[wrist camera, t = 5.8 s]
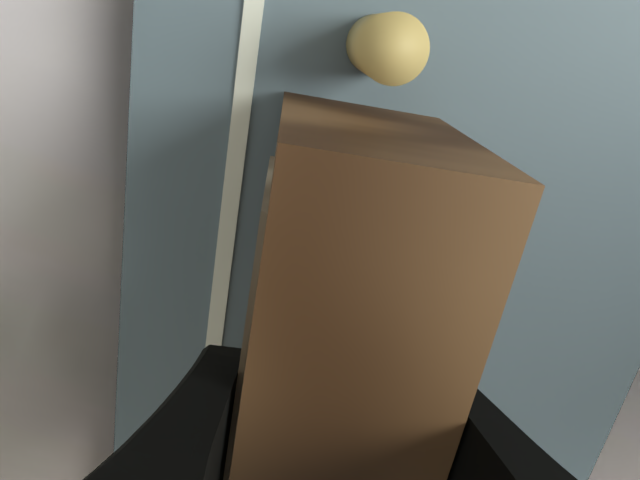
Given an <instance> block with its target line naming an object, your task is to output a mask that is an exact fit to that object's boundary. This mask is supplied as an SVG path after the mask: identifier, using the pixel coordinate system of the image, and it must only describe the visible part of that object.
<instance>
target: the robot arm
mask: <svg viewBox="0 0 640 480" xmlns="http://www.w3.org/2000/svg"><path fill="white" fill-rule="evenodd" d="M241 349H242V348H235V347H226V346H218V345H208V346H207V347H205V348H204V349H203V350H202V352H201V353H200V355H199V357H198V358H197V360H196V361H195V363H194V364H193V366H192V367H191V368H190V370H189V371H188V373H187V374H186V375H185V376H184V378H183V379H182V380H181V382H180V383H179V384H178V385H177V387H176V388H175V389H174V390H173V391H172V392H171V394H170V395H169V396H168V397H167V398H166V399H165V400H164V402H163V403H162V404H161V405H160V406H159V407H158V409H157V410H156V411H155V412H154V413H153V414H152V415H151V416H150V417H149V418H148V419H147V420H146V421H145V422H144V423H143V424H142V425H141V426H140V427H139V428H138V429H137V430H136V431H135V432H134V433H133V434H132V435H131V436H130V438H129V439H128V440H127V441H126V442H125V443H124V444H122V445H121V446H120V447H119V448H118V449H117V450H116V451H115V452H114V453H113V454H112V455H111V456H110V457H108V458H107V459H106V460H105V461H104V462H103V463H102V464H101V465H99V466H98V467H97V468H96V469H95V470H94V471H92V472H91V473H90V474H89V475H88V476H87V477H85V478H84V479H83V480H223V477H224V469H225V462H226V455H227V448H228V441H229V434H230V427H231V420H232V413H233V405H234V398H235V391H236V384H237V377H238V370H239V363H240V356H241ZM447 480H578V479H576V478H575V477H574V476H573V475H572V474H570V473H569V472H568V471H567V470H566V469H564V468H563V467H562V466H561V465H560V464H559V463H558V462H556V461H555V460H554V459H553V458H552V457H551V456H550V455H548V454H547V453H546V452H545V451H544V450H543V449H542V448H541V447H540V446H538V445H537V444H536V443H535V442H534V441H533V440H532V439H531V438H530V437H529V436H528V435H526V434H525V433H524V432H523V431H522V430H521V429H520V428H519V427H518V426H517V425H516V424H515V423H514V422H512V421H511V420H510V419H509V418H508V417H507V416H506V415H505V414H504V413H503V412H502V411H501V410H500V409H499V408H498V407H497V406H496V405H495V404H493V403H492V402H491V401H490V400H489V399H488V398H487V397H486V396H485V395H484V394H483V393H482V392H481V391H480V390H479V389H477V391H476V394H475V397H474V400H473V403H472V406H471V409H470V412H469V415H468V418H467V421H466V424H465V427H464V430H463V433H462V436H461V439H460V442H459V445H458V448H457V451H456V454H455V457H454V460H453V463H452V466H451V469H450V472H449V475H448V478H447Z"/></svg>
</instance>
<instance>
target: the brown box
mask: <svg viewBox="0 0 640 480" xmlns="http://www.w3.org/2000/svg"><path fill="white" fill-rule="evenodd" d="M544 188H545V185H543V184H542V183H540V182H539V181H537V180H535V179H534V178H532V177H531V176H529V175H528V174H526V173H524V172H523V171H521V170H520V169H518V168H517V167H515V166H513V165H512V164H510V163H509V162H507V161H506V160H504V159H502V158H501V157H499V156H498V155H496V154H495V153H493V152H491V151H490V150H488V149H487V148H485V147H484V146H482V145H480V144H479V143H477V142H476V141H474V140H473V139H471V138H469V137H468V136H466V135H465V134H463V133H462V132H460V131H458V130H457V129H455V128H454V127H452V126H451V125H449V124H448V123H446V122H444V121H443V120H441V119H440V118H436V117H430V116H424V115H418V114H413V113H407V112H401V111H395V110H389V109H384V108H378V107H372V106H366V105H360V104H355V103H349V102H343V101H337V100H331V99H326V98H320V97H314V96H308V95H302V94H297V93H291V92H285V91H284V97H283V103H282V110H281V117H280V124H279V131H278V138H277V145H276V152H275V156H270V160H269V166H268V172H267V177H266V183H265V189H264V195H263V201H262V207H261V213H260V221H259V228H258V235H257V242H256V249H255V256H254V263H253V270H252V277H251V285H250V292H249V299H248V306H247V313H246V320H245V327H244V334H243V341H242V349H241V356H240V363H239V370H238V377H237V384H236V391H235V398H234V405H233V413H232V420H231V427H230V434H229V441H228V448H227V455H226V462H225V469H224V477H223V480H447V478H448V475H449V472H450V469H451V466H452V463H453V460H454V457H455V454H456V451H457V448H458V445H459V442H460V439H461V436H462V433H463V430H464V427H465V424H466V421H467V418H468V415H469V412H470V409H471V406H472V403H473V400H474V397H475V394H476V391H477V388H478V385H479V382H480V379H481V376H482V373H483V370H484V368H485V365H486V362H487V359H488V356H489V353H490V350H491V347H492V344H493V341H494V338H495V335H496V332H497V329H498V326H499V323H500V320H501V317H502V314H503V311H504V308H505V305H506V302H507V299H508V296H509V293H510V290H511V287H512V284H513V281H514V278H515V275H516V272H517V269H518V266H519V263H520V260H521V257H522V254H523V251H524V248H525V245H526V242H527V239H528V236H529V233H530V230H531V227H532V224H533V221H534V218H535V215H536V212H537V209H538V206H539V203H540V200H541V197H542V194H543V191H544Z"/></svg>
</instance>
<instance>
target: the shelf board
mask: <svg viewBox="0 0 640 480" xmlns="http://www.w3.org/2000/svg"><path fill="white" fill-rule="evenodd" d="M284 91H285V92H291V93H297V94H302V95H308V96H314V97H320V98H326V99H331V100H337V101H343V102H349V103H355V104H360V105H366V106H372V107H378V108H384V109H389V110H395V111H401V112H407V113H413V114H418V115H424V116H430V117H436V118H440V119H441V120H443V121H444V122H446V123H448V124H449V125H451V126H452V127H454V128H455V129H457V130H458V131H460V132H462V133H463V134H465V135H466V136H468V137H469V138H471V139H473V140H474V141H476V142H477V143H479V144H480V145H482V146H484V147H485V148H487V149H488V150H490V151H491V152H493V153H495V154H496V155H498V156H499V157H501V158H502V159H504V160H506V161H507V162H509V163H510V164H512V165H513V166H515V167H517V168H518V169H520V170H521V171H523V172H524V173H526V174H528V175H529V176H531V177H532V178H534V179H535V180H537V181H539V182H540V183H542V184H543V185H545V188H544V191H543V194H542V197H541V200H540V203H539V206H538V209H537V212H536V215H535V218H534V221H533V224H532V227H531V230H530V233H529V236H528V239H527V242H526V245H525V248H524V251H523V254H522V257H521V260H520V263H519V266H518V269H517V272H516V275H515V278H514V281H513V284H512V287H511V290H510V293H509V296H508V299H507V302H506V305H505V308H504V311H503V314H502V317H501V320H500V323H499V326H498V329H497V332H496V335H495V338H494V341H493V344H492V347H491V350H490V353H489V356H488V359H487V362H486V365H485V368H484V370H483V373H482V376H481V379H480V382H479V385H478V388H477V389H479V390H480V391H481V392H482V393H483V394H484V395H485V396H486V397H487V398H488V399H489V400H490V401H491V402H492V403H493V404H495V405H496V406H497V407H498V408H499V409H500V410H501V411H502V412H503V413H504V414H505V415H506V416H507V417H508V418H509V419H510V420H511V421H512V422H514V423H515V424H516V425H517V426H518V427H519V428H520V429H521V430H522V431H523V432H524V433H525V434H526V435H528V436H529V437H530V438H531V439H532V440H533V441H534V442H535V443H536V444H537V445H538V446H540V447H541V448H542V449H543V450H544V451H545V452H546V453H547V454H548V455H550V456H551V457H552V458H553V459H554V460H555V461H556V462H558V463H559V464H560V465H561V466H562V467H563V468H564V469H566V470H567V471H568V472H569V473H570V474H572V475H573V476H574V477H575V478H576V479H578V480H588V479H589V476H590V474H591V472H592V470H593V468H594V465H595V463H596V461H597V459H598V457H599V455H600V452H601V450H602V448H603V446H604V444H605V441H606V439H607V437H608V435H609V433H610V430H611V428H612V426H613V424H614V422H615V420H616V417H617V415H618V413H619V411H620V409H621V406H622V404H623V402H624V400H625V398H626V395H627V393H628V391H629V389H630V387H631V385H632V382H633V380H634V378H635V376H636V374H637V371H638V369H639V367H640V0H134V8H133V30H132V53H131V75H130V98H129V120H128V142H127V165H126V187H125V210H124V232H123V254H122V277H121V299H120V321H119V344H118V366H117V389H116V411H115V433H114V452H115V451H116V450H117V449H118V448H119V447H120V446H121V445H122V444H124V443H125V442H126V441H127V440H128V439H129V438H130V436H131V435H132V434H133V433H134V432H135V431H136V430H137V429H138V428H139V427H140V426H141V425H142V424H143V423H144V422H145V421H146V420H147V419H148V418H149V417H150V416H151V415H152V414H153V413H154V412H155V411H156V410H157V409H158V407H159V406H160V405H161V404H162V403H163V402H164V400H165V399H166V398H167V397H168V396H169V395H170V394H171V392H172V391H173V390H174V389H175V388H176V387H177V385H178V384H179V383H180V382H181V380H182V379H183V378H184V376H185V375H186V374H187V373H188V371H189V370H190V368H191V367H192V366H193V364H194V363H195V361H196V360H197V358H198V357H199V355H200V353H201V352H202V350H203V349H204V348H205V347H207V346H208V345H218V346H226V347H235V348H242V341H243V334H244V327H245V320H246V313H247V306H248V299H249V292H250V285H251V277H252V270H253V263H254V256H255V249H256V242H257V235H258V228H259V221H260V213H261V207H262V201H263V195H264V189H265V183H266V177H267V172H268V166H269V160H270V156H275V152H276V145H277V138H278V131H279V124H280V117H281V110H282V103H283V97H284Z"/></svg>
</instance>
